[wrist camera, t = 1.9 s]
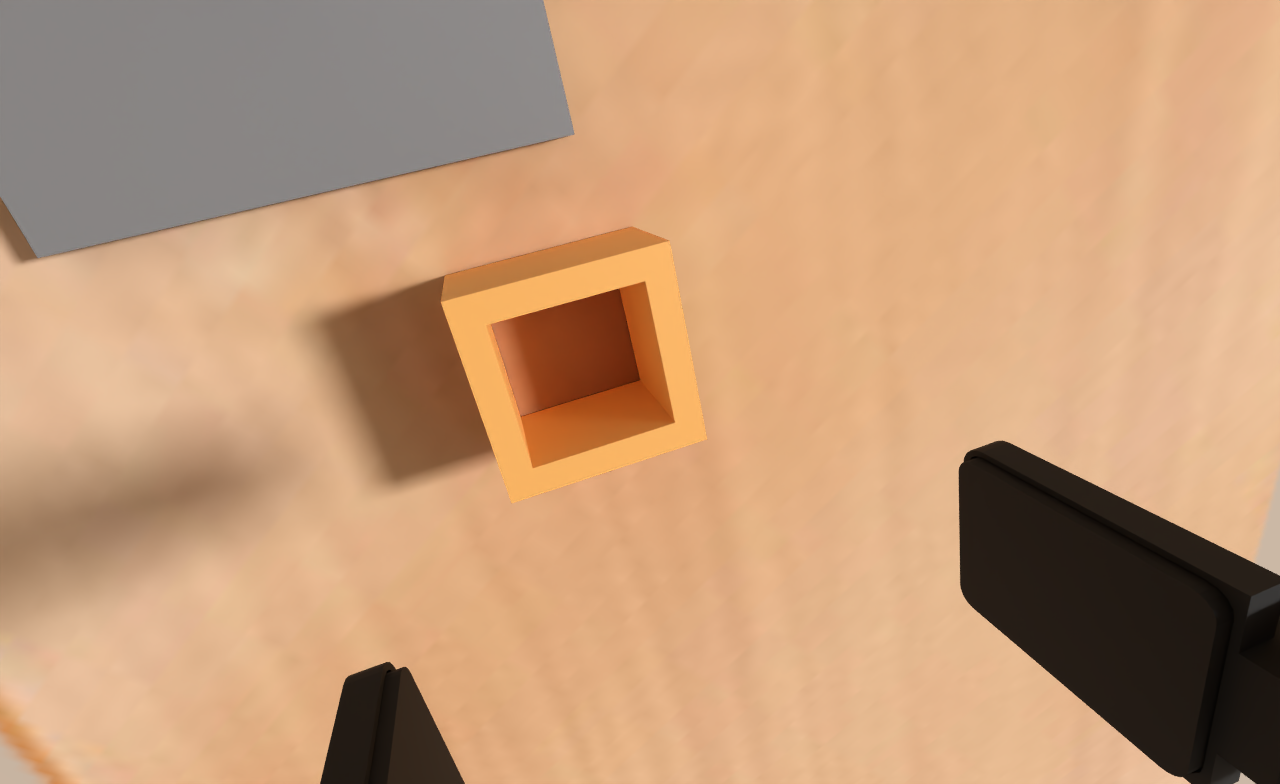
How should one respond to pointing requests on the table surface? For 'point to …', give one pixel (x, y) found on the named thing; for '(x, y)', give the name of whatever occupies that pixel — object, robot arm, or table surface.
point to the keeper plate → (252, 103)
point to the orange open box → (597, 424)
